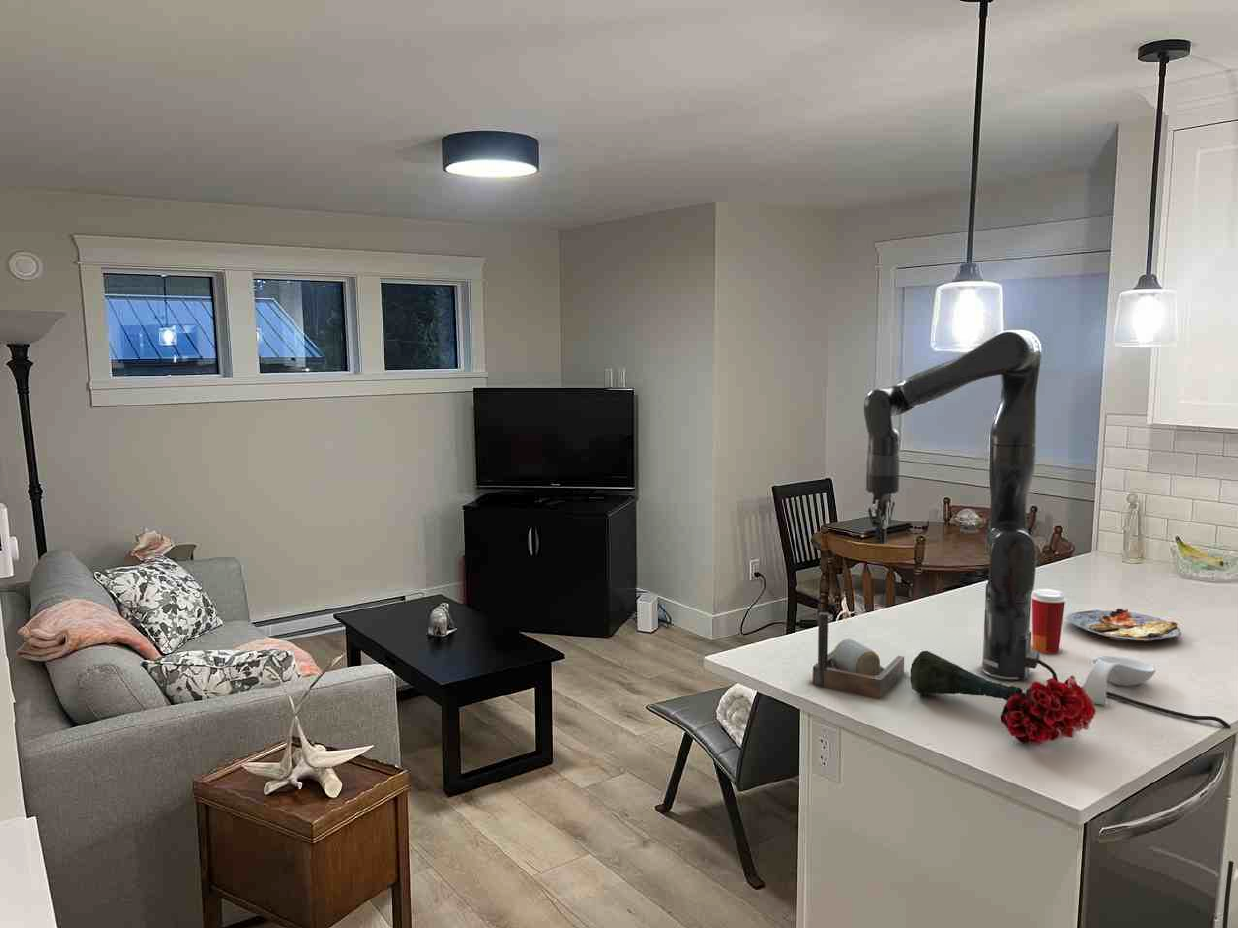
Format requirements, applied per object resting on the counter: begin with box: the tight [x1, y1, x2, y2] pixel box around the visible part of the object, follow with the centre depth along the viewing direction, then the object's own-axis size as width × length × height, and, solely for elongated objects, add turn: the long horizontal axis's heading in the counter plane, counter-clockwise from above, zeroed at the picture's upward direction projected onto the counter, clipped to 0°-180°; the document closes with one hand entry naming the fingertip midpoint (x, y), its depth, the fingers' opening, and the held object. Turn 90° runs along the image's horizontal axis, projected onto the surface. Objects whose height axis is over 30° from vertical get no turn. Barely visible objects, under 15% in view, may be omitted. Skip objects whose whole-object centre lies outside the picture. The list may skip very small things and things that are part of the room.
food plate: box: [1065, 608, 1182, 642], centre depth 226 cm, size 25×23×4 cm
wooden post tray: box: [812, 611, 905, 699], centre depth 196 cm, size 15×17×16 cm
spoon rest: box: [1083, 655, 1156, 706], centre depth 190 cm, size 24×12×7 cm, turn 135°
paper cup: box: [1031, 588, 1067, 655], centre depth 213 cm, size 8×8×14 cm
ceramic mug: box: [832, 638, 885, 677], centre depth 199 cm, size 11×8×8 cm
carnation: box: [909, 650, 1097, 745], centre depth 174 cm, size 16×18×35 cm
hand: (880, 543), depth 217 cm, fingers closed
